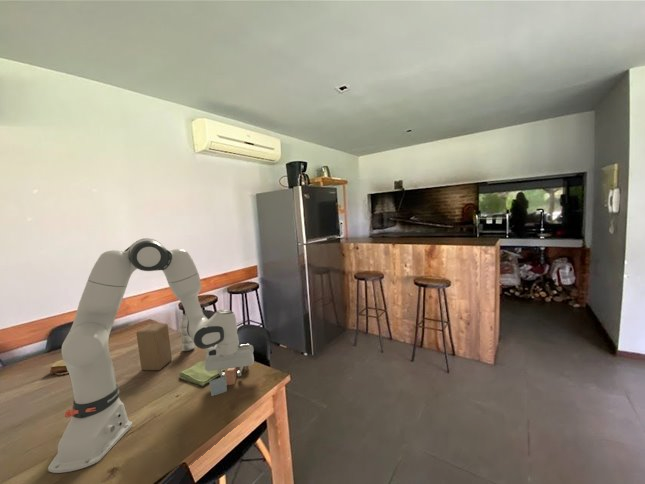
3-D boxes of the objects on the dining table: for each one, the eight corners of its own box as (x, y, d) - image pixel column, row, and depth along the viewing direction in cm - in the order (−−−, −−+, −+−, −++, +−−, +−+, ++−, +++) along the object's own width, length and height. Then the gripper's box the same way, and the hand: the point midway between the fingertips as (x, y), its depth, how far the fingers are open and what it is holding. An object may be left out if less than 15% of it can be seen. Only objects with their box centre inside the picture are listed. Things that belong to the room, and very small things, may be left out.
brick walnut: (248, 369, 129) (247, 359, 128) (245, 372, 126) (244, 362, 125) (236, 368, 130) (235, 358, 130) (233, 372, 127) (232, 361, 127)
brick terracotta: (234, 384, 118) (233, 373, 117) (227, 385, 118) (225, 374, 117) (236, 376, 124) (235, 365, 123) (229, 377, 123) (228, 366, 123)
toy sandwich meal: (77, 373, 135) (75, 364, 134) (45, 378, 132) (43, 369, 132) (93, 360, 147) (91, 352, 146) (64, 364, 144) (62, 356, 144)
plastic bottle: (182, 348, 153) (178, 314, 151) (195, 345, 156) (191, 311, 154) (181, 354, 148) (177, 318, 146) (195, 350, 150) (191, 315, 148)
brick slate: (225, 387, 116) (224, 376, 115) (227, 391, 113) (225, 379, 113) (210, 392, 113) (209, 381, 113) (211, 396, 110) (210, 385, 110)
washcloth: (203, 389, 116) (202, 381, 116) (177, 379, 125) (176, 372, 125) (227, 372, 128) (226, 366, 127) (202, 364, 136) (201, 358, 136)
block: (173, 359, 142) (168, 322, 140) (159, 370, 132) (154, 331, 130) (155, 359, 143) (150, 323, 141) (140, 370, 133) (135, 331, 131)
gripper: (253, 340, 124) (256, 369, 125) (206, 346, 121) (209, 375, 122) (252, 346, 117) (255, 377, 119) (201, 353, 115) (205, 384, 116)
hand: (231, 376), depth 120 cm, fingers open, 5 cm apart
